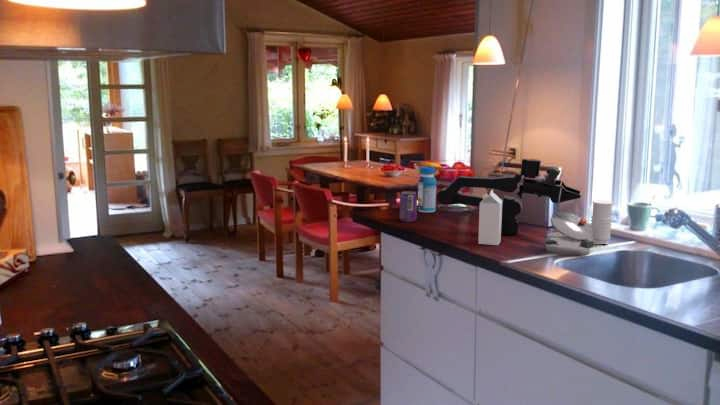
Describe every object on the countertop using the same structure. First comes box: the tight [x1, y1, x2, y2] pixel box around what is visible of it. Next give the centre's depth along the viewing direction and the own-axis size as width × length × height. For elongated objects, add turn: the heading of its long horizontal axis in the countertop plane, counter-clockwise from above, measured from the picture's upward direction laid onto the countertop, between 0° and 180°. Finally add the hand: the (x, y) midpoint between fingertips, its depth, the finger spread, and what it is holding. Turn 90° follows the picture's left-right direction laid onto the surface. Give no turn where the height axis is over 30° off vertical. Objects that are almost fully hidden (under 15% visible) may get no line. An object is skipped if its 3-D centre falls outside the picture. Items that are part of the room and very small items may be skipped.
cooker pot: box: [544, 231, 595, 257], centre depth 218 cm, size 16×20×5 cm
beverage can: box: [399, 190, 418, 223], centre depth 268 cm, size 7×7×12 cm
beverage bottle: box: [417, 165, 438, 213], centre depth 289 cm, size 8×8×20 cm
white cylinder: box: [590, 199, 614, 245], centre depth 229 cm, size 7×7×15 cm
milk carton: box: [477, 188, 502, 246], centre depth 229 cm, size 7×7×19 cm
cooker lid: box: [550, 211, 593, 241], centre depth 217 cm, size 14×14×2 cm
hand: (580, 194), depth 234 cm, fingers open, 9 cm apart
